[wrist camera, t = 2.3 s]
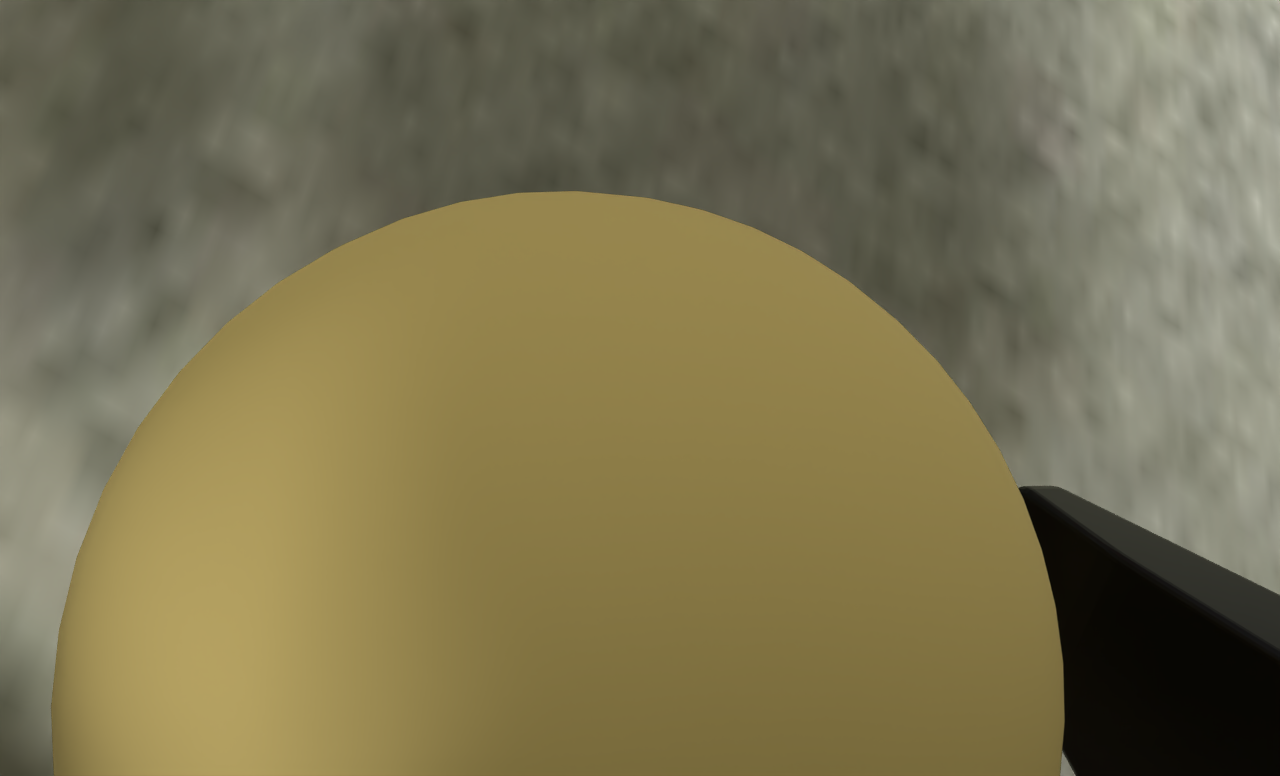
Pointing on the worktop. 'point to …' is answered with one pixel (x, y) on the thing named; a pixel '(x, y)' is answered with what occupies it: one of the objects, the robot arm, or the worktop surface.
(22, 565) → the worktop surface
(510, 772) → the ball
